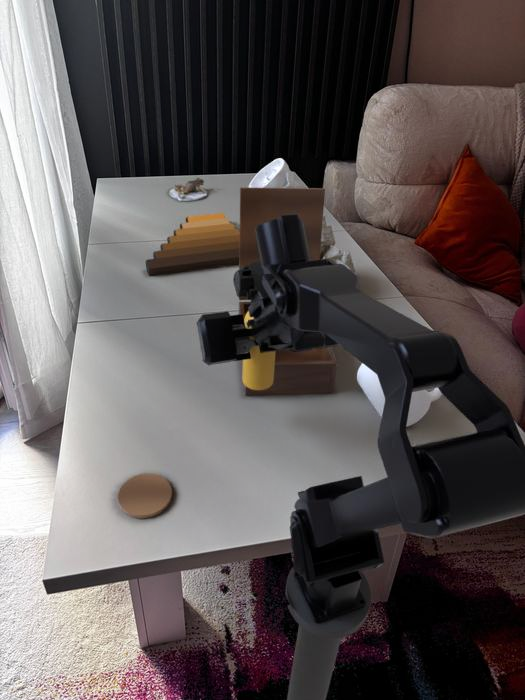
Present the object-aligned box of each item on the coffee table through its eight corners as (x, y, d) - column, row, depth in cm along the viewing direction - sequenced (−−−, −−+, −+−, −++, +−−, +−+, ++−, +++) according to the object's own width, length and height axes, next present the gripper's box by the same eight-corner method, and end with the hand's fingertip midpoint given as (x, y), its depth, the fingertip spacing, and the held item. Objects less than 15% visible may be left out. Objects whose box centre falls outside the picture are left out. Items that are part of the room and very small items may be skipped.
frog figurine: (193, 184, 172) (193, 172, 169) (216, 195, 164) (215, 183, 162) (161, 191, 166) (160, 178, 163) (183, 203, 158) (182, 190, 156)
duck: (277, 387, 80) (283, 314, 73) (247, 392, 79) (250, 318, 72) (264, 363, 85) (269, 292, 78) (236, 367, 84) (237, 296, 77)
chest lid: (325, 189, 95) (320, 184, 99) (240, 188, 93) (238, 183, 97) (316, 299, 104) (312, 291, 108) (239, 300, 102) (237, 292, 106)
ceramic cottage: (265, 275, 124) (273, 213, 115) (330, 269, 130) (343, 209, 121) (292, 314, 113) (303, 248, 104) (362, 305, 119) (378, 242, 110)
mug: (379, 432, 85) (388, 392, 80) (353, 392, 93) (360, 353, 88) (447, 420, 88) (460, 381, 83) (416, 382, 96) (427, 344, 91)
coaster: (177, 510, 71) (177, 507, 71) (122, 524, 69) (122, 521, 69) (165, 471, 77) (165, 468, 76) (114, 483, 74) (114, 480, 74)
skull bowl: (310, 197, 163) (291, 162, 155) (269, 223, 165) (249, 190, 157) (300, 185, 171) (282, 151, 163) (262, 210, 173) (242, 177, 165)
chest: (332, 393, 92) (337, 363, 88) (245, 395, 90) (246, 365, 87) (312, 328, 108) (316, 300, 104) (238, 329, 106) (238, 301, 103)
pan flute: (149, 277, 122) (255, 262, 130) (148, 263, 120) (255, 249, 128) (128, 232, 140) (222, 222, 148) (127, 219, 138) (222, 210, 146)
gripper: (347, 245, 68) (306, 282, 83) (198, 259, 63) (183, 296, 78) (365, 332, 66) (320, 355, 81) (214, 354, 61) (196, 374, 76)
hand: (256, 343), depth 79 cm, fingers closed on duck, 4 cm apart
